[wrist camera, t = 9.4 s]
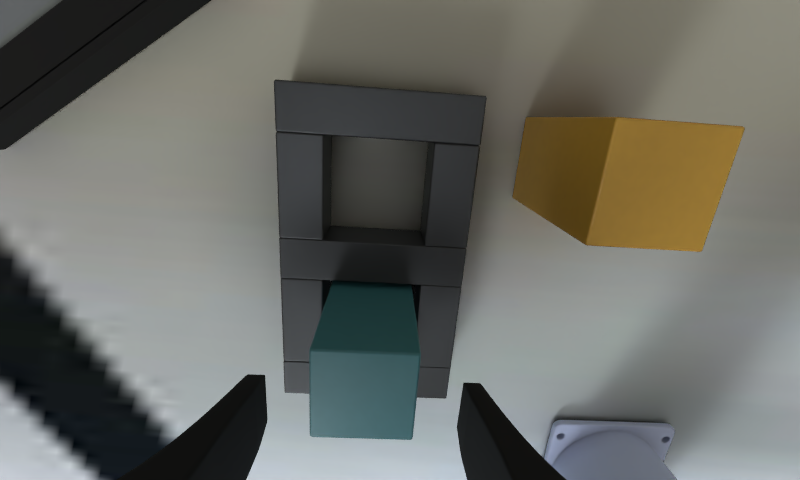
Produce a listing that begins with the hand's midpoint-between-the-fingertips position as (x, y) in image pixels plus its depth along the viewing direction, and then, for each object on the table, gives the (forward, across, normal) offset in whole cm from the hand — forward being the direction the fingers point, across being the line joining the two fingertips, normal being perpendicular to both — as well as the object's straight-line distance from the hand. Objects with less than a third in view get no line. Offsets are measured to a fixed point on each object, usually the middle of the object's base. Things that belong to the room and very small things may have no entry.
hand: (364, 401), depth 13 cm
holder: (+8, 0, -3) cm, 8 cm away
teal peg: (+8, 0, 0) cm, 8 cm away
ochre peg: (+8, -9, -8) cm, 14 cm away
